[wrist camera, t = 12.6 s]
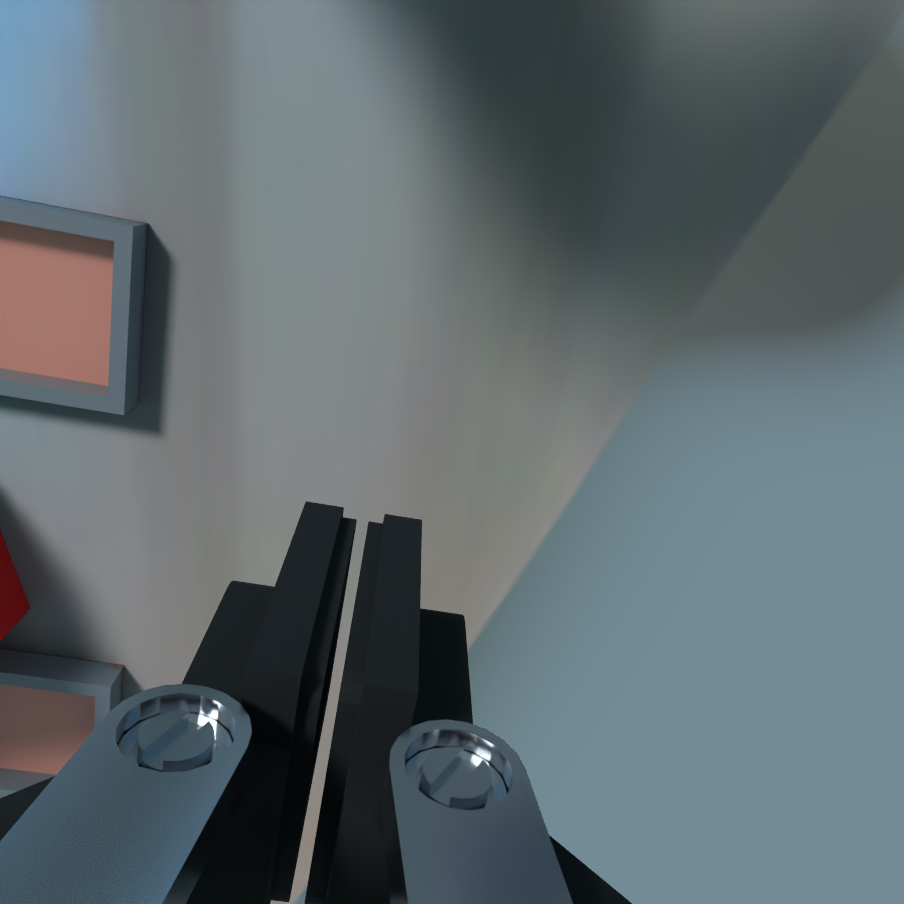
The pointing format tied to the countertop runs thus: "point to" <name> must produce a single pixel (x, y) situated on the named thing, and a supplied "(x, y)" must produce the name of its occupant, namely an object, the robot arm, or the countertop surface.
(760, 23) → the countertop surface
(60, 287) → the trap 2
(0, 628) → the puzzle toy
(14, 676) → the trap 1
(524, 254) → the countertop surface
